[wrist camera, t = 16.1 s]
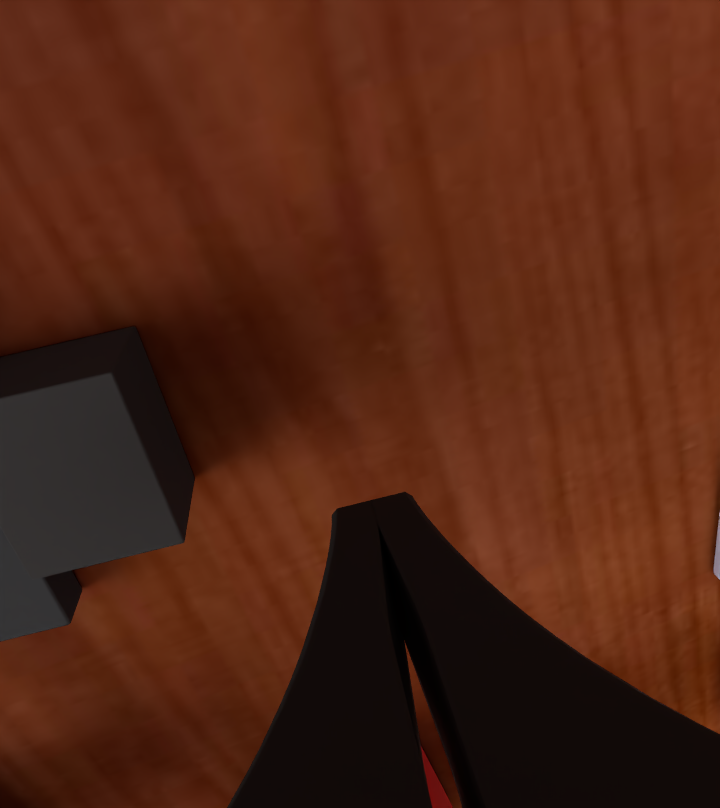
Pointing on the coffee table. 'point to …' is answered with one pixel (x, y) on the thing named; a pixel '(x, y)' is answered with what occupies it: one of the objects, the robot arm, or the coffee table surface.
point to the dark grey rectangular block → (88, 455)
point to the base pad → (33, 597)
